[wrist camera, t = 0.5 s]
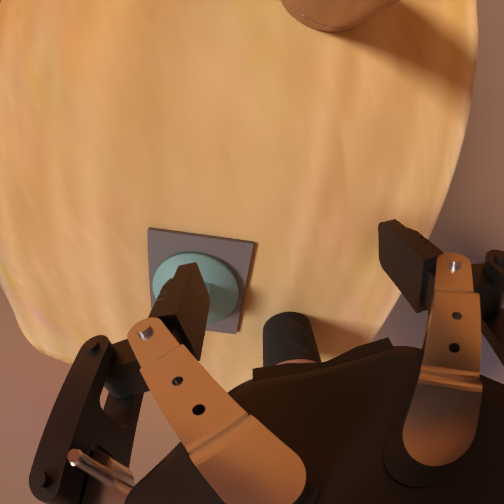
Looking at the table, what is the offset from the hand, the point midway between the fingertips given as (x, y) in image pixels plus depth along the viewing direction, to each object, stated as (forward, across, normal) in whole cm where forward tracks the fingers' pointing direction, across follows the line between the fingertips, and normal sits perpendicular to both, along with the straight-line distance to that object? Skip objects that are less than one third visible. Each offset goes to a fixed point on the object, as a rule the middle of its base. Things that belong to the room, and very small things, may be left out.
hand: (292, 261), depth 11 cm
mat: (+19, +12, +12) cm, 25 cm away
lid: (+19, +12, +12) cm, 25 cm away
